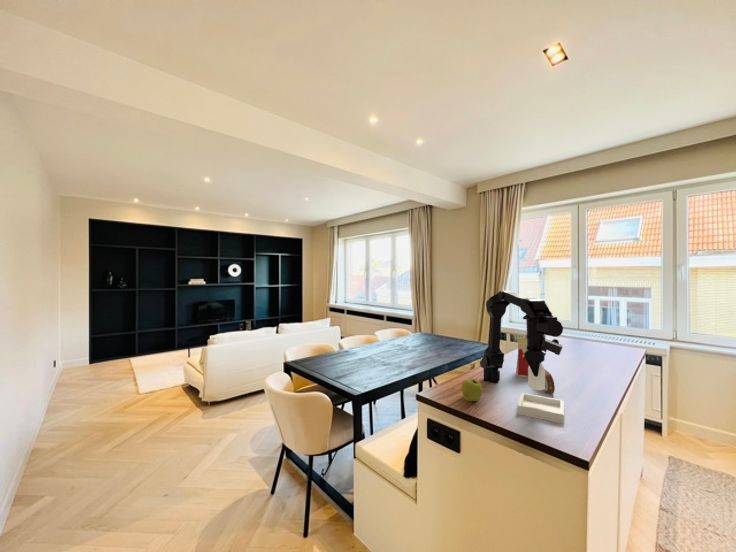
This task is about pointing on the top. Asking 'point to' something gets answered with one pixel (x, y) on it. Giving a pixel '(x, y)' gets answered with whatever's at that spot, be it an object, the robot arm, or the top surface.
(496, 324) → the robot arm
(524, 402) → the tray
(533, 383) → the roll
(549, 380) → the tin
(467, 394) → the apple
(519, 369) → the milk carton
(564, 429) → the top surface
